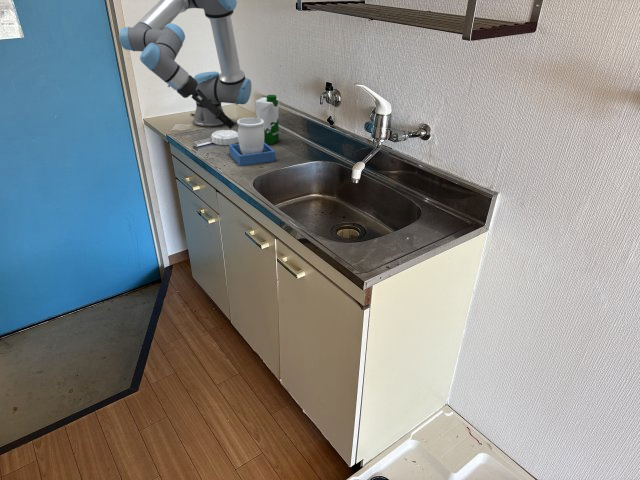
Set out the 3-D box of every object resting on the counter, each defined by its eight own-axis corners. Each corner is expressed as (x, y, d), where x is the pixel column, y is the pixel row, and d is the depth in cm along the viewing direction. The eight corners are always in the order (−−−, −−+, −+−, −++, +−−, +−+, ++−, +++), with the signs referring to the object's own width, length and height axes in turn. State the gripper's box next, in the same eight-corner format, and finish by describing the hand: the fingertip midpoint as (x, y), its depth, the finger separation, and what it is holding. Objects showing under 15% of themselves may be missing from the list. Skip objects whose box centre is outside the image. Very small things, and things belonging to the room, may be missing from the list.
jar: (260, 163, 184) (259, 126, 177) (235, 160, 186) (232, 123, 179) (268, 154, 194) (267, 118, 186) (244, 152, 195) (242, 116, 188)
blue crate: (229, 154, 192) (228, 145, 190) (263, 150, 198) (262, 140, 196) (240, 166, 182) (239, 156, 180) (275, 161, 188) (275, 151, 186)
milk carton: (272, 145, 203) (271, 98, 193) (254, 142, 206) (252, 96, 196) (281, 140, 210) (281, 94, 200) (263, 137, 213) (262, 91, 203)
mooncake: (228, 147, 199) (228, 139, 198) (206, 142, 204) (205, 134, 202) (245, 139, 209) (244, 131, 207) (223, 135, 213) (222, 127, 211)
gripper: (168, 83, 174) (212, 119, 188) (183, 99, 155) (230, 138, 169) (181, 67, 174) (224, 105, 187) (198, 81, 155) (244, 122, 168)
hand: (227, 121), depth 178 cm, fingers open, 13 cm apart
